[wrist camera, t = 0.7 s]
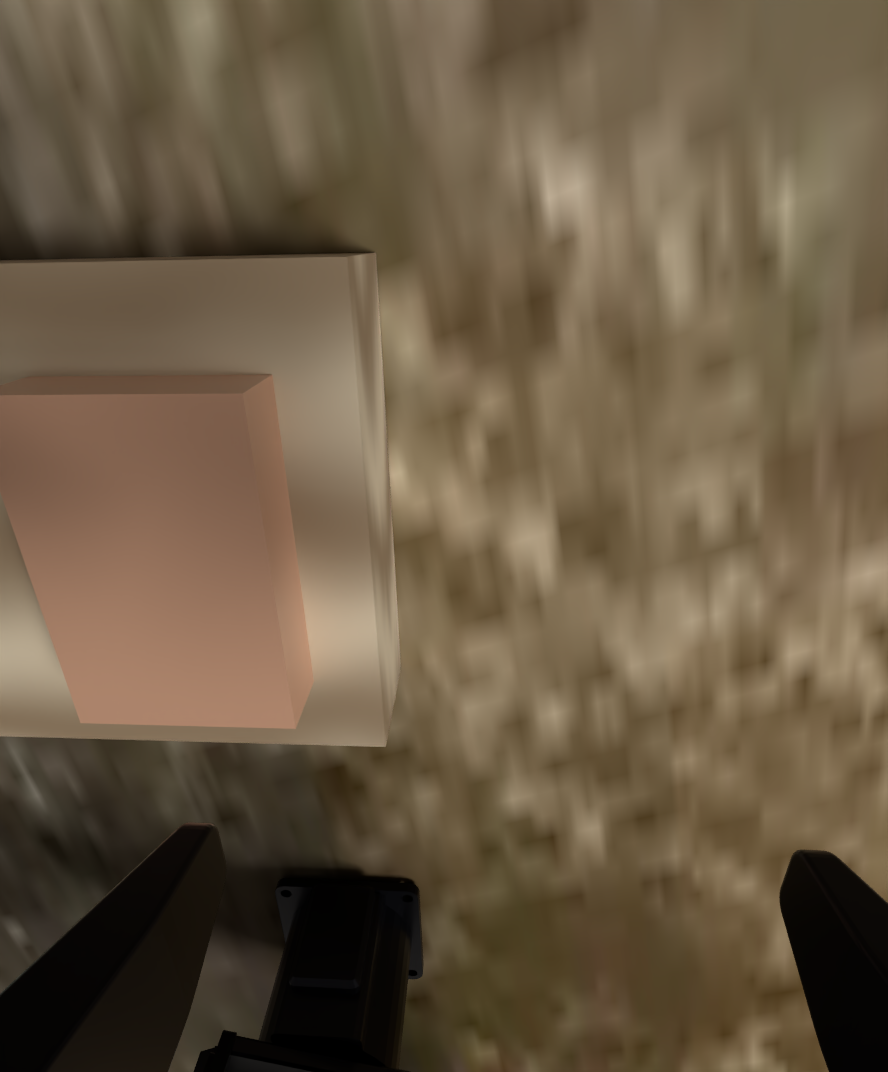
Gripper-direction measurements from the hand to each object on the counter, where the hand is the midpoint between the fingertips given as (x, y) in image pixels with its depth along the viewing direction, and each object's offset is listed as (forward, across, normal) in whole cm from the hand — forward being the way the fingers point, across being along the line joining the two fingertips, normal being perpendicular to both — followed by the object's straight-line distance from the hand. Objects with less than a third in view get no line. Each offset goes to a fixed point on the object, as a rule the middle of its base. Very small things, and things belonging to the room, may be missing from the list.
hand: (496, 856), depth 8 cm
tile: (+9, +8, 0) cm, 12 cm away
